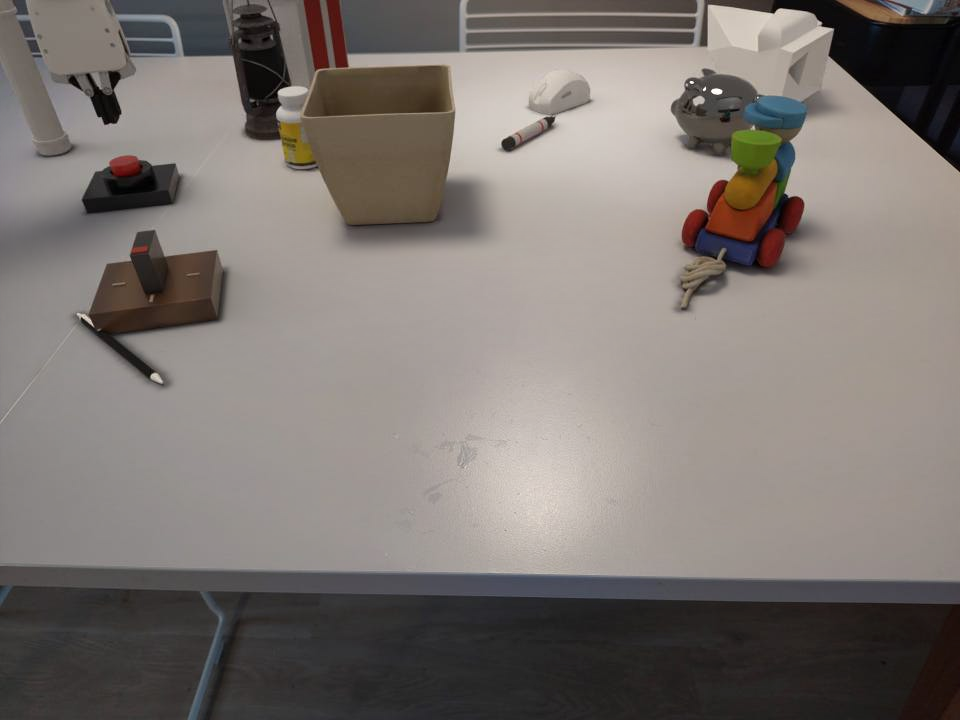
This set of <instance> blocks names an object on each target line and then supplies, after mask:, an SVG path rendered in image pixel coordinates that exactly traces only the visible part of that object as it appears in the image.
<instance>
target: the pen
mask: <svg viewBox="0 0 960 720" xmlns="http://www.w3.org/2000/svg"><path fill="white" fill-rule="evenodd" d="M76 316H77V317H79V321H80V322H81V323H82V324H83V325H85V326H86V328H88V329H89V330H91V331H92V332H93V333H94V334H95V335H97V336H98V338H100V339H101V340H103V341H104V343H106V344H107V345H109V346H110V347H111V348H112V349H114V350H115V351H116V352H117V353H118V354H120V355H121V356H122V357H123V358H124V359H125V360H126V361H128V362H129V363H131V364H132V365H133V366H134V367H135V368H136V369H138V370H139V371H140V372H141V373H142V374H143V375H145V376H146V377H147V378H149V379H150V380H151V381H153V382H155V383H158V384H161V385H163V384H164V381H163V379H162V377H161V376H160V374H159V373H158V372H156V370H154V369H153V368H152V367H150V366H149V365H148V364H146V362H144V361H143V360H142V359H141V358H140V357H138V356H137V355H136V354H135V353H133V351H131V350H129V348H127V347H126V346H124V345H123V344H122V343H121V342H120V341H118V340H117V338H115V337H113V336H112V334H108V333H107V332H106V331H102V330H101V329H98V332H96V330H95V328H94V326H93V323H92V321H91V319H90V317H89V316H87V315H86V314H85V313H80V312H77V313H76ZM99 330H101V331H99Z"/></svg>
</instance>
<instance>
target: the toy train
mask: <svg viewBox="0 0 960 720" xmlns="http://www.w3.org/2000/svg"><path fill="white" fill-rule="evenodd" d="M808 112H809V109H808V106H807V105H806V104H805V103H803V102H799V101H797V100H794V99H791V98H787V97H782V96H772V95H769V96H763V97H760V98H759V99H758V100H757V102H755V103H751V104H749V105H747V106H746V107H745V110H744V114H743V117H744V119H745V121H746V122H748V123H750V124H752V125H753V127H754V129H751V130H741V131H736V132H734V133H733V134H732V142H731V145H730V146H731V147H730V160H731V161H732V162H733V163H734V164H736V166H737V167H736V169H737V171H736V172H735V173H734V175H732V177H731V178H730V179H729V180H726V179H719V180H717V181H715V182H714V184H713V185H712V187H711V189H710V190H709V194H708V197H707V200H706V210H707V211H705V210H704V209H702V208H695V209H693V210H692V211H691V212H689V213H688V215H687V217H686V218H685V220H684V222H683V226H682V230H681V240H682V243H683V244H684V245H685V246H686V247H691V248H694V250H696V251H697V252H699V253H702V254H705V255H709V256H699V257H696V258H694V259H693V261H692V263H691V264H685V265H684V266H683V269H684V270H685V271H684V273H683V274H681V275H680V276H679V280H680V281H682V284H681V287H682V288H683V289H684V290H686V292H684V295H683V298H682V301H681V304H680V309H681V310H683V309H686V308H687V307H688V303H689V299H690V297H691V295H692V293H693V292H694V291H695V290H696V289H698V288H699V286H700V284H702V283H703V282H704V281H705V280H706V279H707V278H708V277H709V276H718V275H720V274H721V273H724V271H725V270H726V268H727V265H726V263H725V261H723V259H724V260H726V261H730V262H734V263H738V264H741V265H744V266H751V265H752V264H753V263H754V262H755V260H756V259H757V263H758V264H759V265H760V266H761V267H762V268H773V267H775V266H776V265H777V264H778V262H779V261H780V258H781V256H782V253H783V250H784V248H785V244H786V238H787V237H786V234H791V233H793V232H795V231H796V230H797V229H798V227H799V225H800V222H801V221H802V217H803V214H804V211H805V201H804V199H803V198H802V197H800V196H798V195H793V196H792V195H791V196H790V197H789V195H788V194H787V193H785V192H786V190H787V185H788V182H789V179H790V176H791V172H792V168H793V166H794V164H795V161H796V150H795V147H794V145H793V143H792V142H791V141H792V140H793V139H794V138H796V137H797V136H798V135H799V133H800V132H801V130H802V128H803V126H804V124H805V121H806V118H807V115H808ZM709 214H710V216H709ZM776 226H777V227H776ZM710 256H713V257H716V258H717V259H715V258H713V257H710Z"/></svg>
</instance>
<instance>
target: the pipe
mask: <svg viewBox="0 0 960 720" xmlns="http://www.w3.org/2000/svg"><path fill="white" fill-rule="evenodd" d="M17 13H18V9H17V6H15V4H14V2H13V0H0V64H1V66H2V68H3V71H4V73H5V75H6V78H7V80H8V83H9V85H10V86H11V89H12V91H13V93H14V96H15V98H16V100H17V103H18V104H19V107H20V109H21V112H22V114H23V116H24V118H25V121H26V124H27V125H28V128H29V129H30V133H31V135H32V137H31V142H32V143H33V144H34V145H35V148H36V150H37V152H38V154H39V155H41V156H46V157H49V156H59V155H62V154H65V153H67V152H69V151H70V150H71V149H72V144H71V141H70V139H69V134H68V132H67V131H65V130H64V129H63V127H62V124H61V122H60V119H59V117H58V115H57V112H56V109H55V107H54V104H53V102H52V100H51V97H50V94H49V92H48V90H47V88H46V85H45V83H44V81H43V77H42V75H41V73H40V70H39V68H38V65H37V63H36V61H35V57H34V55H33V53H32V51H31V49H30V46H29V44H28V41H27V39H26V36H25V34H24V31H23V29H22V26H21V24H20V22H19V19H18V16H17V15H16V14H17Z"/></svg>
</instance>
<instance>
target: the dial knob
mask: <svg viewBox="0 0 960 720" xmlns="http://www.w3.org/2000/svg"><path fill="white" fill-rule="evenodd" d="M159 239H160V238H159V237H158V234H157V231H156V229H151V230H150V229H149V230H141V231H136V234H135V238H134V241H133V242H132V243H133V244H132V247H131V249H130V253H129V258H130V261H132V263H133V266H134V268H135V271H136V273H137V276H138V278H139V281H140V283H141V286H142V288H143V291H144V293H151V292H158V291H163V286H164V282H165V278H166V274H167V269H168V265H167V262H166V259H165V256H166V255H165V253H164V251H163V248H162V245H161V243H160V240H159Z"/></svg>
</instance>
